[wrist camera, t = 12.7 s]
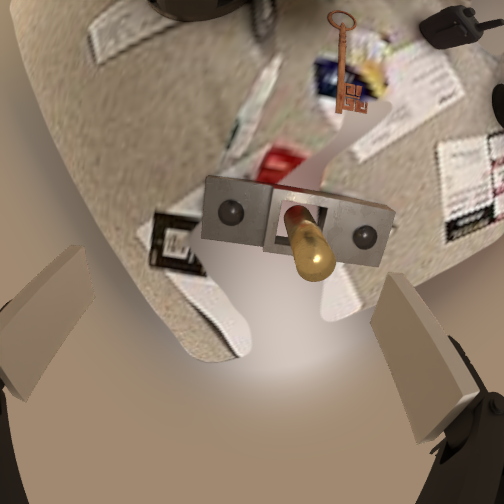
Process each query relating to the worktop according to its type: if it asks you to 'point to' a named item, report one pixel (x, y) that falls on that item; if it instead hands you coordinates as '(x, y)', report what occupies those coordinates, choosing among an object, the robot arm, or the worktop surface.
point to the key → (341, 74)
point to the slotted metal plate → (268, 210)
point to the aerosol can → (499, 103)
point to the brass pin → (308, 245)
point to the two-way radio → (455, 27)
